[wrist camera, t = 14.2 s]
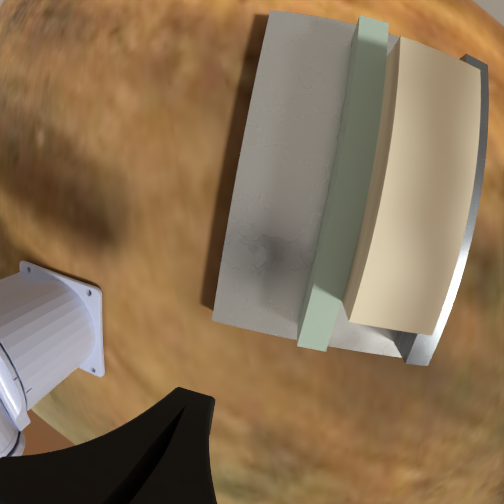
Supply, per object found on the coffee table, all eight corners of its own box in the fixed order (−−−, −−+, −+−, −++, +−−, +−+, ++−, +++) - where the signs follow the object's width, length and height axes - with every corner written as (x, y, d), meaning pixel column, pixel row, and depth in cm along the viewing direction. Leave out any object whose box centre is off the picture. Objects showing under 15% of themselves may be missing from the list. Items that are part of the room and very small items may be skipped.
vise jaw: (297, 325, 17) (296, 346, 15) (352, 36, 13) (359, 15, 11) (322, 330, 17) (325, 351, 15) (378, 42, 13) (388, 23, 11)
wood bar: (335, 284, 16) (348, 322, 12) (374, 74, 14) (400, 36, 9) (399, 297, 16) (432, 335, 11) (438, 96, 13) (480, 69, 9)
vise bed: (216, 314, 19) (198, 340, 15) (271, 18, 15) (265, -14, 11) (410, 351, 18) (427, 381, 14) (466, 72, 13) (493, 54, 10)
